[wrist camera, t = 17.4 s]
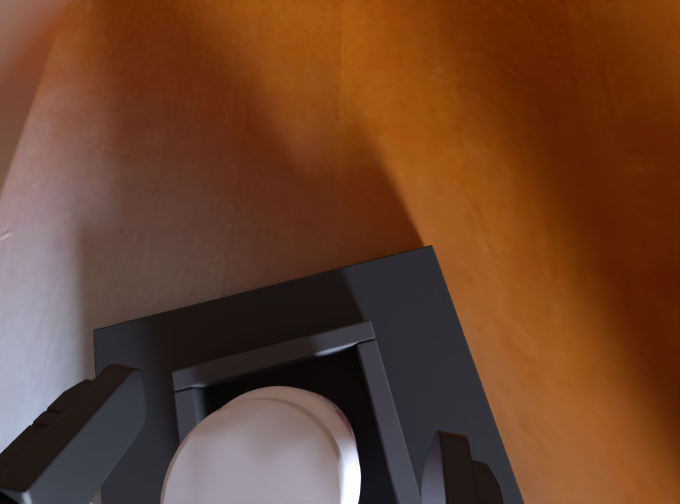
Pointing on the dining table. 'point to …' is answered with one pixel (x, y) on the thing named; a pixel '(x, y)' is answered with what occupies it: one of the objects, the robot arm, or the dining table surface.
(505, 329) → the dining table surface
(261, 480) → the pill bottle
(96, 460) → the robot arm
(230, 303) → the pad
